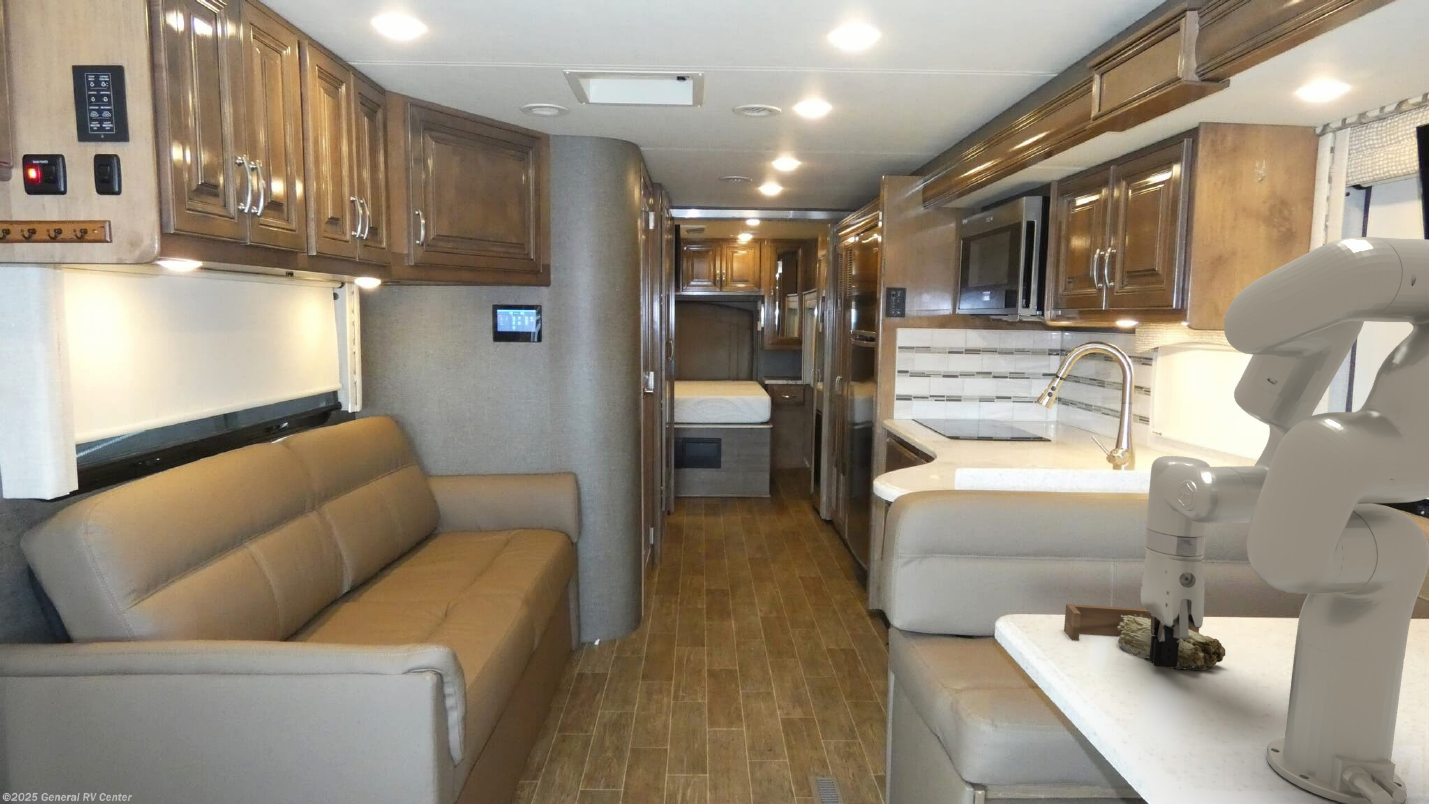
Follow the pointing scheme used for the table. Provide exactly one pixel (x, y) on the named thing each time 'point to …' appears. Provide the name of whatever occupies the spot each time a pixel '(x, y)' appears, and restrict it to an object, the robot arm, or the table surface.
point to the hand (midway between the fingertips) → (1162, 664)
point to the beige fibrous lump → (1191, 652)
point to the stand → (1099, 620)
